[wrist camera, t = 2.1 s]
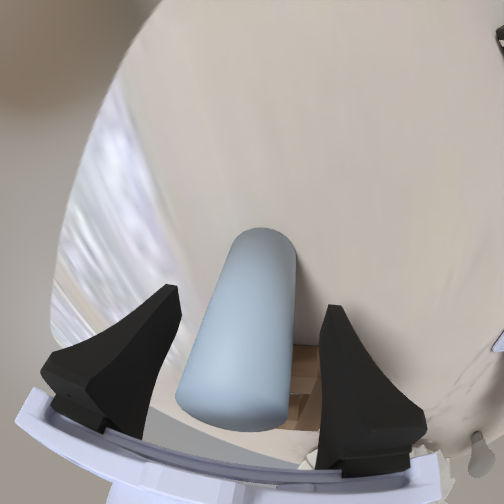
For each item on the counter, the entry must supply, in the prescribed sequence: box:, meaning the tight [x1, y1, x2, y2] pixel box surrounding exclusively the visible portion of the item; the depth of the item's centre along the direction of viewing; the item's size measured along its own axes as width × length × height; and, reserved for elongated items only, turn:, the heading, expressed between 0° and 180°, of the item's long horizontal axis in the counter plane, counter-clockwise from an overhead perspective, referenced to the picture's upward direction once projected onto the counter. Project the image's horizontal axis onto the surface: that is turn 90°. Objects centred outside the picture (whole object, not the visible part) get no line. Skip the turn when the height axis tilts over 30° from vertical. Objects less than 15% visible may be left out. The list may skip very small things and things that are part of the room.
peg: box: [175, 228, 296, 432], centre depth 13 cm, size 4×4×10 cm
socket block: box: [276, 345, 322, 431], centre depth 23 cm, size 11×11×3 cm
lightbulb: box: [468, 431, 495, 478], centre depth 27 cm, size 6×6×11 cm
